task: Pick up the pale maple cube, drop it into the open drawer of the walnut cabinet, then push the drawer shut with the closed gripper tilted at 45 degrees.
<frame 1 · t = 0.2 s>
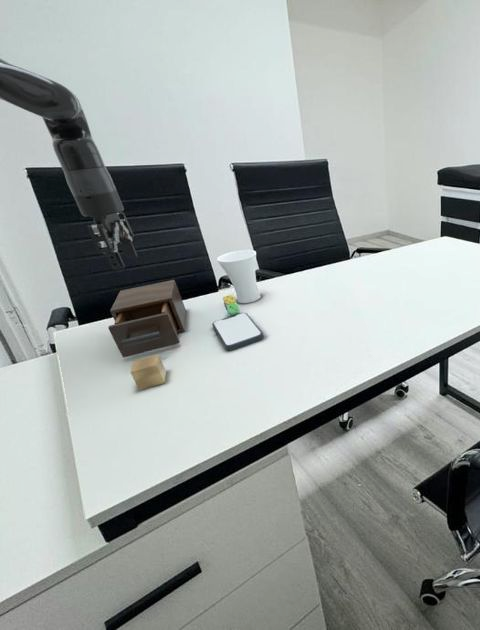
hand: (126, 263, 89), 19 cm above the table, tool pointing down, fingers open, 8 cm apart
kitchen sponge: (234, 316, 105), on the table
phone case: (238, 333, 96), on the table
cabinet: (159, 327, 102), on the table
maple cube: (153, 381, 79), on the table
cup: (249, 299, 115), on the table
drawer: (147, 327, 91), point 5 cm above the table, slide at 7.0 cm
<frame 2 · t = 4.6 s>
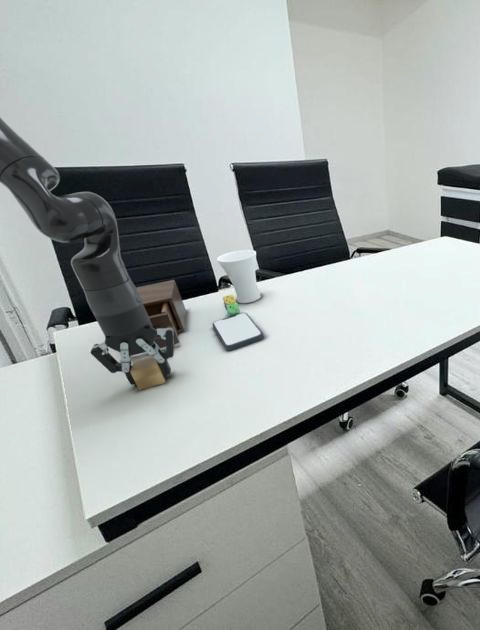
hand: (152, 379, 79), 0 cm above the table, tool pointing down, fingers closed on maple cube, 4 cm apart
maple cube: (153, 381, 79), on the table, touching gripper
everything else where it was.
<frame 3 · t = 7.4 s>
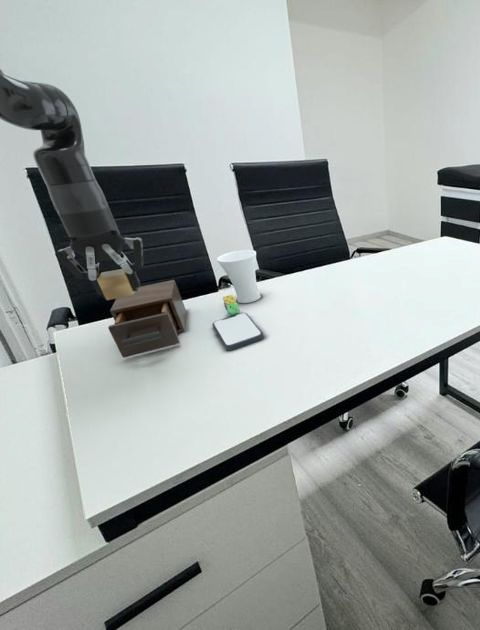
hand: (121, 292, 79), 17 cm above the table, tool pointing down, fingers closed on maple cube, 4 cm apart
maple cube: (122, 294, 79), point 17 cm above the table, touching gripper
everything else where it was.
when the fingers open (10 cm above the table, at t = 10.2 s): maple cube drops 5 cm and tips over, resting on drawer.
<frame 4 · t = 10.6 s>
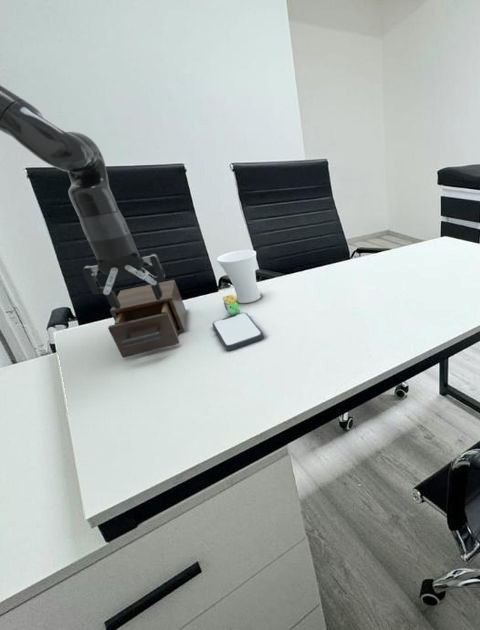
hand: (138, 303, 90), 11 cm above the table, tool pointing down, fingers open, 7 cm apart
maple cube: (149, 325, 93), point 4 cm above the table, tilted 90°, touching drawer
drawer: (147, 327, 91), point 5 cm above the table, slide at 7.1 cm, touching maple cube
everything else where it was.
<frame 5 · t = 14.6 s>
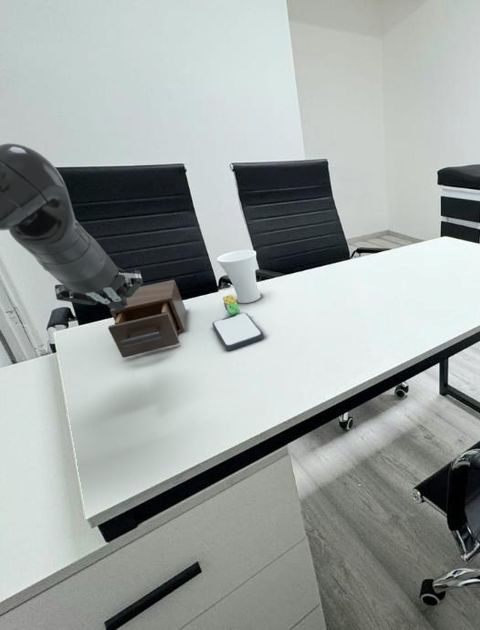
hand: (120, 305, 75), 16 cm above the table, tool tilted 45°, fingers closed
nothing on the table moved.
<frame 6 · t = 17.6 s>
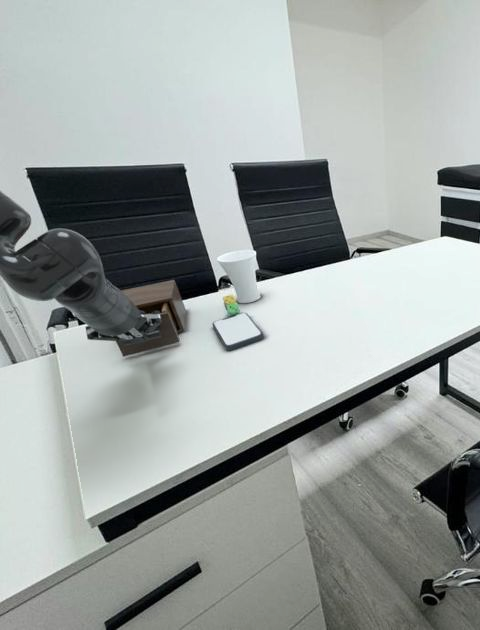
hand: (140, 338, 84), 6 cm above the table, tool tilted 45°, fingers closed
drawer: (147, 326, 92), point 5 cm above the table, slide at 6.5 cm, touching gripper, maple cube
everything else where it was.
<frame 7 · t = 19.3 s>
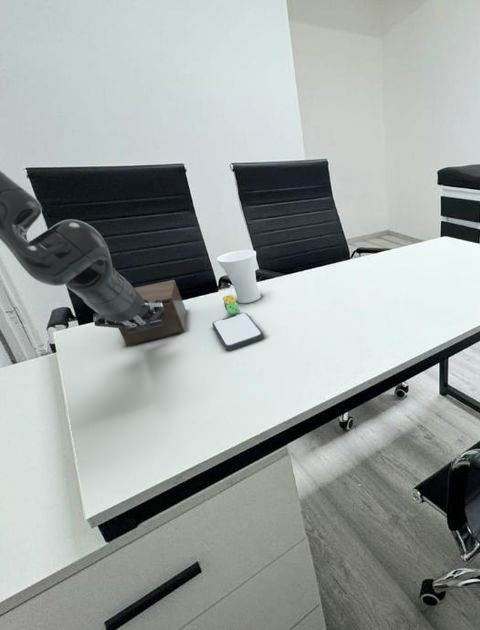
hand: (144, 326, 89), 6 cm above the table, tool tilted 45°, fingers closed
maple cube: (152, 314, 99), point 4 cm above the table, tilted 90°, touching drawer
drawer: (150, 316, 97), point 5 cm above the table, slide at 0.0 cm, touching cabinet, gripper, maple cube
everything else where it was.
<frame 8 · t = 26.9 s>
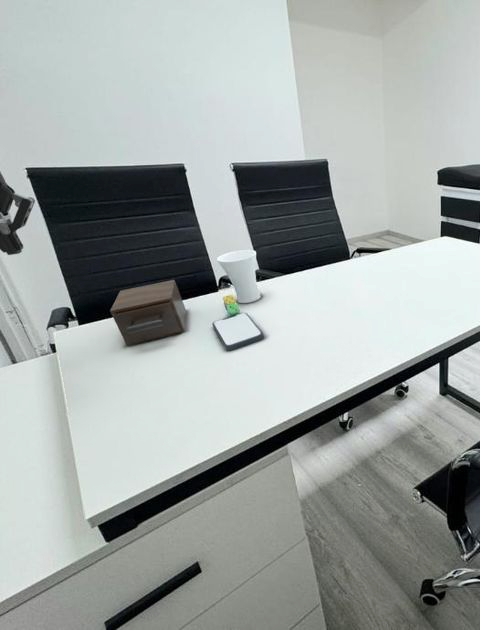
hand: (15, 253, 73), 27 cm above the table, tool pointing down, fingers closed
drawer: (150, 316, 97), point 5 cm above the table, slide at 0.0 cm, touching cabinet, maple cube
everything else where it was.
at the end: maple cube inside the target area in the cabinet (1.3 cm from its centre), point 4.2 cm above the cabinet's base; drawer slide at 0.0 cm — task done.
